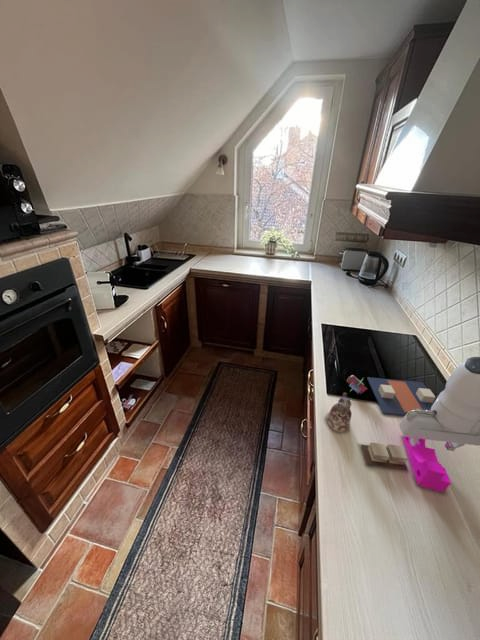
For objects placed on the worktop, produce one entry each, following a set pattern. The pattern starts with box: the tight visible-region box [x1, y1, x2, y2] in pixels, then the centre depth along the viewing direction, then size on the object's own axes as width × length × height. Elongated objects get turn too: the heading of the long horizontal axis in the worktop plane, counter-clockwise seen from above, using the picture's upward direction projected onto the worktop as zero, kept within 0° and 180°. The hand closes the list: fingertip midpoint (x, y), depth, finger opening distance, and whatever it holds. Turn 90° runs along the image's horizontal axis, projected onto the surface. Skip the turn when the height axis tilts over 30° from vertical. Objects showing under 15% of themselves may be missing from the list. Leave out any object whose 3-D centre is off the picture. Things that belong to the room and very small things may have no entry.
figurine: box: [326, 392, 352, 433], centre depth 83 cm, size 7×7×12 cm
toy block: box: [402, 435, 452, 493], centre depth 73 cm, size 15×6×8 cm, turn 164°
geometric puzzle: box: [346, 374, 369, 395], centre depth 98 cm, size 7×7×8 cm
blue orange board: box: [366, 376, 436, 417], centre depth 96 cm, size 22×18×4 cm
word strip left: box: [360, 441, 409, 471], centre depth 75 cm, size 11×6×4 cm, turn 84°
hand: (431, 446), depth 71 cm, fingers open, 8 cm apart
